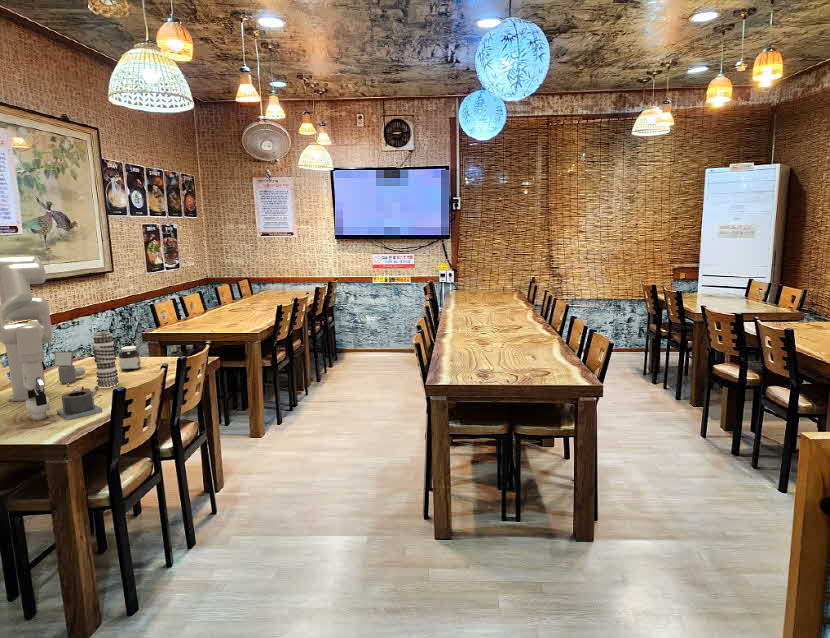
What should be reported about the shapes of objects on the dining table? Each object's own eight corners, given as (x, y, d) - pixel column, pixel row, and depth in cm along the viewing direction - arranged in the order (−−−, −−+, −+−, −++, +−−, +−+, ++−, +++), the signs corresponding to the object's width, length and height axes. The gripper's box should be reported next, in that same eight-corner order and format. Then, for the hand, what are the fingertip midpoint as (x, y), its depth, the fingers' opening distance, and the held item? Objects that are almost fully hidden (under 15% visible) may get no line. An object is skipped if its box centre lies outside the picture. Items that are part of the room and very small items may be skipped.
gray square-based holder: (57, 413, 214) (54, 394, 213) (90, 405, 223) (88, 387, 222) (67, 420, 206) (65, 400, 205) (102, 411, 215) (100, 393, 214)
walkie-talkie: (90, 402, 229) (100, 389, 248) (89, 391, 229) (99, 379, 247) (66, 404, 227) (77, 391, 245) (64, 394, 226) (76, 382, 245)
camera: (90, 377, 268) (86, 347, 265) (73, 384, 256) (69, 352, 254) (73, 377, 269) (69, 347, 266) (55, 384, 257) (51, 352, 255)
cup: (25, 418, 209) (23, 398, 208) (47, 413, 214) (45, 394, 213) (31, 422, 204) (28, 402, 203) (53, 417, 209) (51, 397, 208)
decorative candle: (123, 383, 256) (118, 330, 252) (112, 388, 247) (106, 333, 243) (104, 383, 257) (98, 330, 253) (92, 389, 247) (86, 334, 243)
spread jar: (132, 372, 277) (130, 349, 275) (111, 372, 278) (108, 349, 276) (145, 366, 288) (143, 344, 287) (125, 366, 289) (122, 344, 287)
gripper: (13, 357, 208) (19, 401, 211) (26, 363, 197) (32, 409, 199) (36, 353, 214) (42, 396, 216) (50, 359, 202) (56, 404, 205)
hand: (37, 402), depth 208 cm, fingers open, 9 cm apart
